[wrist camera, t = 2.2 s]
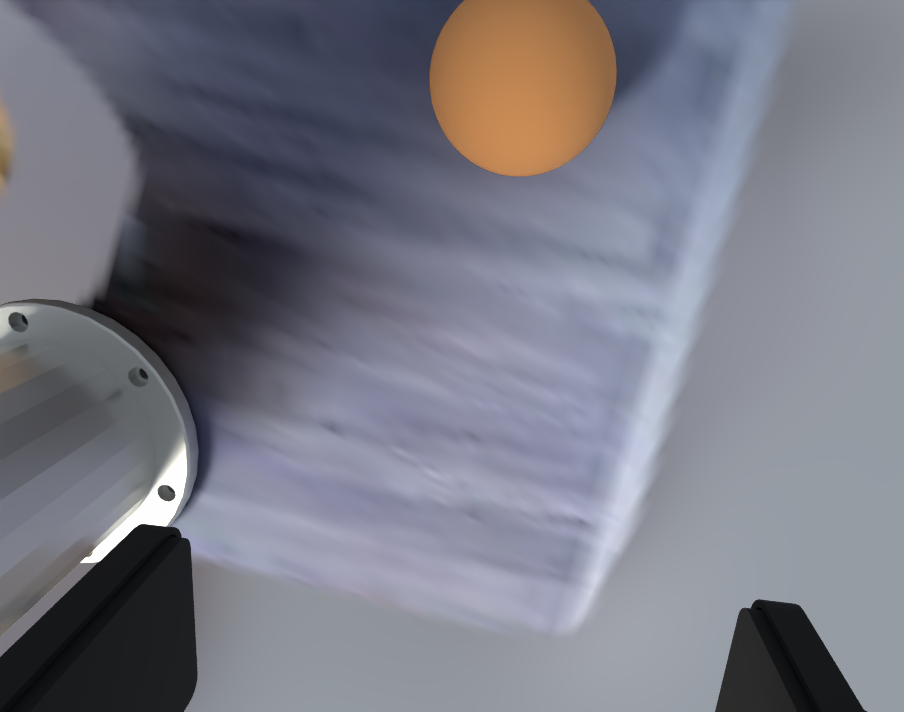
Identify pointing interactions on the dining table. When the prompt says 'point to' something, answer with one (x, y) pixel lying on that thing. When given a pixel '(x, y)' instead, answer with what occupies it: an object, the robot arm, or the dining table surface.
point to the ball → (522, 82)
